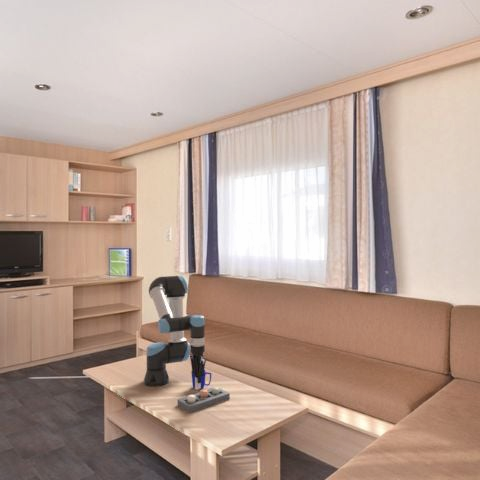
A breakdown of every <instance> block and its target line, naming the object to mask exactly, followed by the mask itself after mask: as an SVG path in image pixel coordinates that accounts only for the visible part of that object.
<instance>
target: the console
mask: <svg viewBox="0 0 480 480" xmlns="http://www.w3.org/2000/svg"><path fill="white" fill-rule="evenodd" d="M207 390H208V397H207V398H201V397H200V391H199V392H197V393H193V394H192V395H195V396H196V402H194V403H191V404H189V403H187V396H184V397H180V398H177V406H179V407H180V409H181V408H182V409H183V410H184V411H186V412H187V413H194V412H196V411H199V410H202V409H205V408H207V407H211V406H213V405H216V404H218V403H221V402H224V401H227V400H228V401H229V400H231V399H230V393H229V392H228V391H226V390H223V389H222V388H220V394H218V395H213V394H212V388H209V389H207Z"/></svg>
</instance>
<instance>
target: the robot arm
mask: <svg viewBox="0 0 480 480" xmlns="http://www.w3.org/2000/svg"><path fill="white" fill-rule="evenodd" d="M188 287H189V286H188V281H187V279H186V277H185V276H183V275H171V276H170V275H169V276H158V277H156V278H155V279H154V280H152V282H151V283H150V285H149V287H148V294H149V297H150V299H152V301H153V303H154V306H155V310H156V312H157V315H158V318H159V319H158V321H157V322H158V323H157V328H158V329H157V330H158V332H159V333H160V334H170V338H169V339H168V341H167V342H168V343H167V344H166V343H165V342H163V341H161V342H160V341H158V342H153V343H151V344H149V345H148V346H147V347H146V355H145V356H146V371H145V374H144V378H143V384H144V386H147V387H160V386H163V385H166V384H168V383H169V381H170V377H169V373H168V371H167V364H168V365H169V364H173V363H182V362H185V361H188V359H189V360H190V365H191V371H192V372H191V374H192V373H193V374H194V376H195V388H194V389H195V390H201V389H200V388H201V377H202V376H203V375H204V370H205V368H206V362H207V361H206V359H204V355H203V354H204V352H205V351H206V350H205V348H206V347H205V342H206V341H205V325H206V324H205V316H204V315H200V314H194V315H192V314H187V315H185V316H184V303H183V302H184V301H183V300H184V298H185V297H186V295H187V293H188V291H189V290H188V289H189V288H188ZM186 331H189V332H190V333H189V334H190V342H189V341H188V340H187V338H185V332H186Z"/></svg>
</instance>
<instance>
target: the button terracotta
mask: <svg viewBox="0 0 480 480" xmlns="http://www.w3.org/2000/svg"><path fill="white" fill-rule="evenodd" d="M208 390H209V389H206V388H205V389H204V388H202V389H199V392H200V397H201V398H207V397H208Z"/></svg>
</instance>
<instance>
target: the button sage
mask: <svg viewBox="0 0 480 480" xmlns="http://www.w3.org/2000/svg"><path fill="white" fill-rule="evenodd" d="M211 389H212V394H213V395H218V394H220V389H221V388H220V386H219V387H218V386H214V387H212V388H211Z"/></svg>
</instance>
